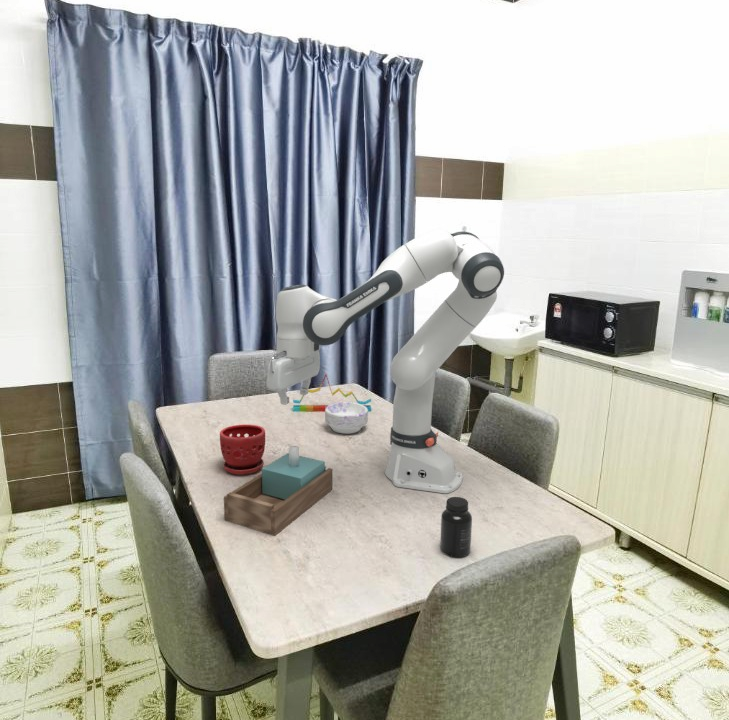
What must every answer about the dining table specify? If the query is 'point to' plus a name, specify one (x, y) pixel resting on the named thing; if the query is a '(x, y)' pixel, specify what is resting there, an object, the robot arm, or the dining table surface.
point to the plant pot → (242, 448)
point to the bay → (273, 504)
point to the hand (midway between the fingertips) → (294, 399)
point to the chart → (322, 407)
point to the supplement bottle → (456, 528)
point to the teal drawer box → (290, 474)
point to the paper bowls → (346, 417)
